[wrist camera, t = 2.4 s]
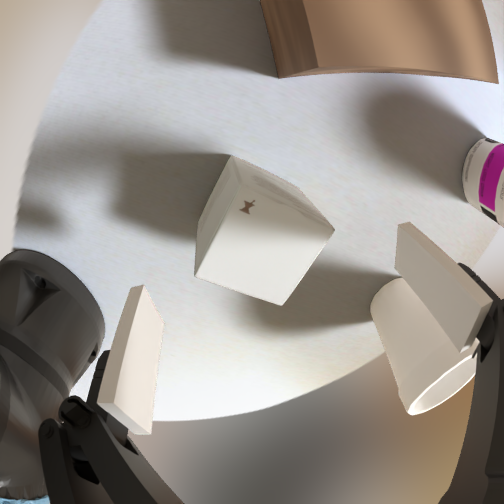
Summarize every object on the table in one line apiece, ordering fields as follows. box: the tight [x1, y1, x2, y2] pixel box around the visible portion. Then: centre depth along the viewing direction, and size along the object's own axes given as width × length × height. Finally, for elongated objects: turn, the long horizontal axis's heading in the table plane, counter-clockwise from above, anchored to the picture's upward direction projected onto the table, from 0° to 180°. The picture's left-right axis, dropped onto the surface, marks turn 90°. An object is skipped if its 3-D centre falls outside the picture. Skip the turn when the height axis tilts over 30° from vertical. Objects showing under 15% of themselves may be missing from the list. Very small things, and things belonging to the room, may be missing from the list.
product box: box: [194, 156, 335, 306], centre depth 18 cm, size 6×6×7 cm
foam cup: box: [370, 277, 479, 415], centre depth 24 cm, size 10×9×13 cm
